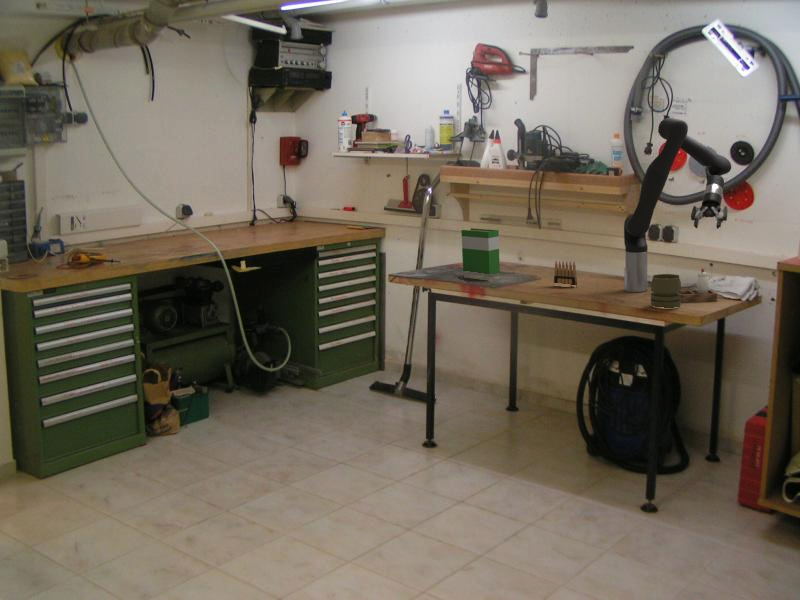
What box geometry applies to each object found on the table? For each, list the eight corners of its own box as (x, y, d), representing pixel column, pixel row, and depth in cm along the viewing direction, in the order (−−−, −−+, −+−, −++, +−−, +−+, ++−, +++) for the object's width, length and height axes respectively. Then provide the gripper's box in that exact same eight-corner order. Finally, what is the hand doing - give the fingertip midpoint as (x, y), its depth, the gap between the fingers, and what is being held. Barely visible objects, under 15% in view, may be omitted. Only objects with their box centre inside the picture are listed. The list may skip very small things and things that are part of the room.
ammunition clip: (553, 286, 394) (553, 260, 391) (555, 285, 395) (555, 260, 393) (575, 288, 387) (575, 261, 385) (577, 287, 389) (576, 261, 386)
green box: (463, 278, 428) (461, 230, 423) (473, 275, 432) (471, 228, 428) (489, 281, 415) (488, 232, 410) (500, 279, 419) (498, 230, 415)
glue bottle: (698, 298, 348) (698, 269, 346) (695, 295, 353) (695, 267, 350) (709, 297, 348) (710, 269, 345) (706, 295, 352) (707, 267, 350)
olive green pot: (681, 274, 342) (680, 279, 332) (680, 303, 345) (680, 309, 334) (651, 273, 346) (650, 279, 336) (651, 303, 348) (650, 309, 338)
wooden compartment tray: (673, 302, 347) (673, 295, 346) (668, 298, 356) (668, 291, 355) (717, 301, 345) (717, 293, 345) (710, 296, 354) (711, 289, 354)
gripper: (694, 191, 368) (688, 221, 361) (729, 191, 361) (723, 222, 354) (696, 202, 374) (690, 232, 366) (731, 203, 367) (725, 233, 359)
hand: (706, 227), depth 360 cm, fingers open, 8 cm apart
